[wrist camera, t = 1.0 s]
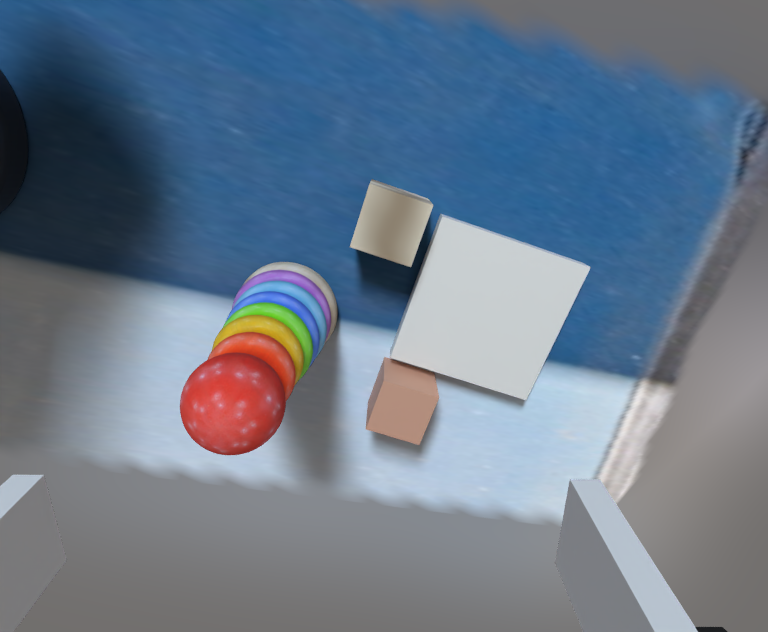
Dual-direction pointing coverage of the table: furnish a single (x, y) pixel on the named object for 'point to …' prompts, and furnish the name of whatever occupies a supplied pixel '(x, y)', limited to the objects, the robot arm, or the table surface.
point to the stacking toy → (258, 358)
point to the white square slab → (486, 307)
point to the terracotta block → (402, 401)
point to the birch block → (391, 223)
